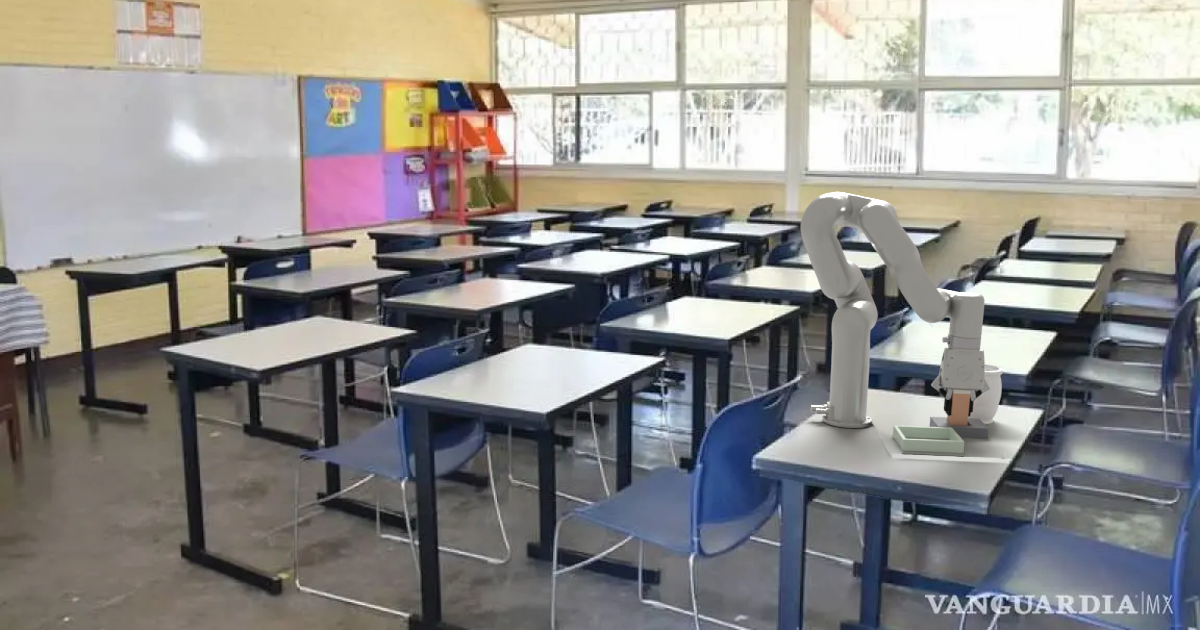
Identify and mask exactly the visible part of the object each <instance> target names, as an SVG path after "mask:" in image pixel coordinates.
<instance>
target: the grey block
mask: <svg viewBox="0 0 1200 630" xmlns="http://www.w3.org/2000/svg"><path fill="white" fill-rule="evenodd" d="M929 427H947V428H953V429H954V431H955V432H956V433H957V434H958V435H959V436H960V437H961V438H962V439H963V438H964V439H965V438H967V439H968V438H969V439H989V430H990V428H989V427H988V426H987V424H984V423H983V422H982V421H981V420H980V419H975V418H968V423H967V425H951V424H950V423H949V422H948V421H947V416H946V417H945V416H930V417H929Z"/></svg>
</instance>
